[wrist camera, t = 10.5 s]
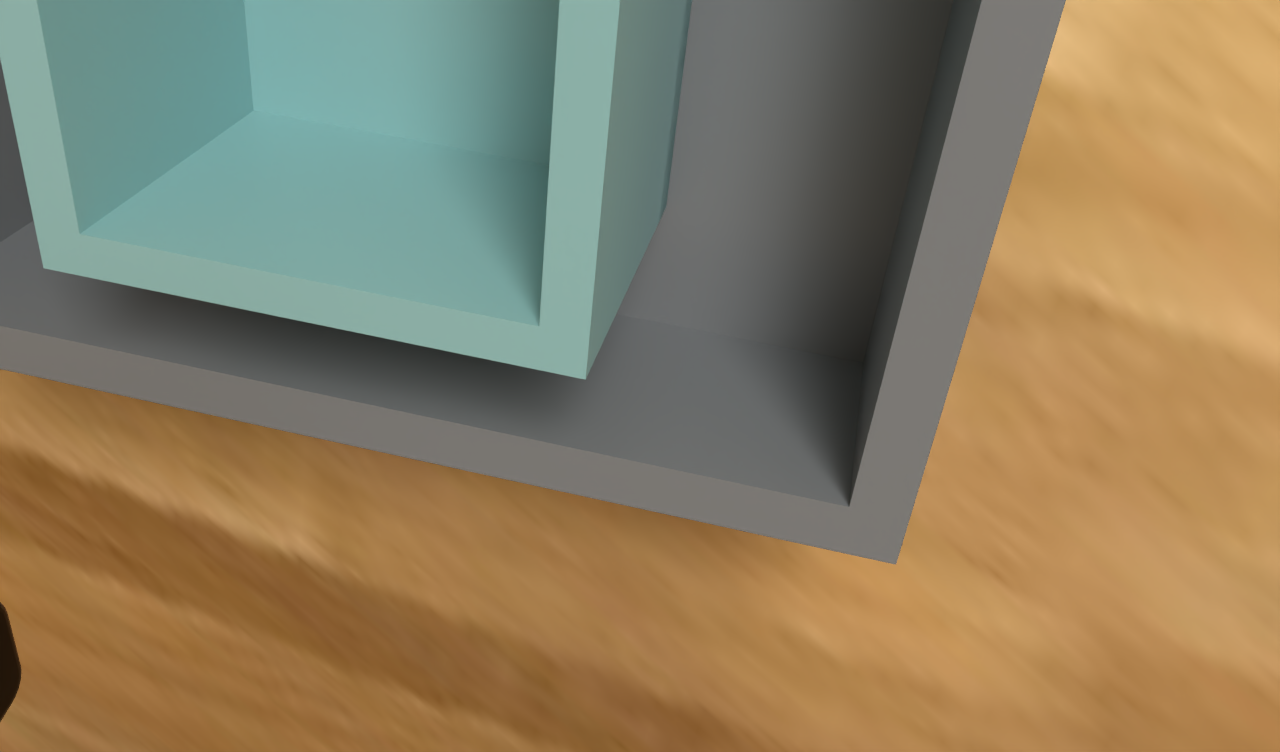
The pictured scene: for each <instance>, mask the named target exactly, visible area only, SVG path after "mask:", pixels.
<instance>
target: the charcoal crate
mask: <svg viewBox="0 0 1280 752" xmlns="http://www.w3.org/2000/svg"><path fill="white" fill-rule="evenodd" d="M1065 1H1066V0H692V5H691V13H690V21H689V29H688V37H687V45H686V53H685V61H684V69H683V77H682V85H681V93H680V101H679V109H678V117H677V125H676V133H675V141H674V149H673V157H672V165H671V173H670V181H669V189H668V197H667V205H666V208H665V210H664V213H663V215H662V217H661V219H660V221H659V223H658V225H657V228H656V230H655V232H654V234H653V236H652V238H651V240H650V243H649V245H648V247H647V249H646V251H645V253H644V255H643V258H642V260H641V262H640V264H639V266H638V268H637V270H636V273H635V275H634V277H633V279H632V281H631V283H630V285H629V288H628V290H627V292H626V294H625V296H624V298H623V300H622V303H621V305H620V307H619V309H618V311H617V313H616V315H615V318H614V320H613V322H612V324H611V326H610V328H609V331H608V333H607V335H606V337H605V339H604V341H603V343H602V346H601V348H600V350H599V352H598V354H597V356H596V358H595V361H594V363H593V365H592V367H591V369H590V371H589V373H588V376H587V378H586V380H585V379H580V378H575V377H570V376H565V375H561V374H556V373H551V372H546V371H541V370H536V369H531V368H526V367H522V366H517V365H512V364H507V363H502V362H497V361H492V360H488V359H483V358H478V357H473V356H468V355H463V354H458V353H454V352H449V351H444V350H439V349H434V348H429V347H424V346H419V345H415V344H410V343H405V342H400V341H395V340H390V339H385V338H381V337H376V336H371V335H366V334H361V333H356V332H351V331H347V330H342V329H337V328H332V327H327V326H322V325H317V324H312V323H308V322H303V321H298V320H293V319H288V318H283V317H278V316H274V315H269V314H264V313H259V312H254V311H249V310H244V309H240V308H235V307H230V306H225V305H220V304H215V303H210V302H206V301H201V300H196V299H191V298H186V297H181V296H176V295H171V294H167V293H162V292H157V291H152V290H147V289H142V288H137V287H133V286H128V285H123V284H118V283H113V282H108V281H103V280H99V279H94V278H89V277H84V276H79V275H74V274H69V273H64V272H60V271H55V270H50V269H45V268H43V263H42V258H41V254H40V249H39V244H38V239H37V234H36V229H35V225H34V220H33V215H32V210H31V205H30V200H29V195H28V191H27V186H26V181H25V176H24V171H23V166H22V162H21V157H20V152H19V147H18V142H17V137H16V132H15V128H14V123H13V118H12V113H11V108H10V103H9V99H8V94H7V89H6V84H5V79H4V74H3V70H2V65H1V60H0V369H3V370H8V371H12V372H17V373H21V374H26V375H30V376H35V377H40V378H44V379H49V380H53V381H58V382H63V383H67V384H72V385H76V386H81V387H85V388H90V389H95V390H99V391H104V392H108V393H113V394H118V395H122V396H127V397H131V398H136V399H140V400H145V401H150V402H154V403H159V404H163V405H168V406H172V407H177V408H182V409H186V410H191V411H195V412H200V413H205V414H209V415H214V416H218V417H223V418H227V419H232V420H237V421H241V422H246V423H250V424H255V425H259V426H264V427H269V428H273V429H278V430H282V431H287V432H292V433H296V434H301V435H305V436H310V437H314V438H319V439H324V440H328V441H333V442H337V443H342V444H347V445H351V446H356V447H360V448H365V449H369V450H374V451H379V452H383V453H388V454H392V455H397V456H401V457H406V458H411V459H415V460H420V461H424V462H429V463H434V464H438V465H443V466H447V467H452V468H456V469H461V470H466V471H470V472H475V473H479V474H484V475H488V476H493V477H498V478H502V479H507V480H511V481H516V482H521V483H525V484H530V485H534V486H539V487H543V488H548V489H553V490H557V491H562V492H566V493H571V494H576V495H580V496H585V497H589V498H594V499H598V500H603V501H608V502H612V503H617V504H621V505H626V506H630V507H635V508H640V509H644V510H649V511H653V512H658V513H663V514H667V515H672V516H676V517H681V518H685V519H690V520H695V521H699V522H704V523H708V524H713V525H717V526H722V527H727V528H731V529H736V530H740V531H745V532H750V533H754V534H759V535H763V536H768V537H772V538H777V539H782V540H786V541H791V542H795V543H800V544H804V545H809V546H814V547H818V548H823V549H827V550H832V551H837V552H841V553H846V554H850V555H855V556H859V557H864V558H869V559H873V560H878V561H882V562H887V563H892V564H896V562H897V559H898V556H899V552H900V549H901V546H902V542H903V539H904V536H905V533H906V529H907V526H908V523H909V519H910V516H911V513H912V509H913V506H914V503H915V499H916V496H917V493H918V489H919V486H920V483H921V479H922V476H923V473H924V469H925V466H926V463H927V459H928V456H929V453H930V449H931V446H932V443H933V440H934V436H935V433H936V430H937V426H938V423H939V420H940V416H941V413H942V410H943V406H944V403H945V400H946V396H947V393H948V390H949V386H950V383H951V380H952V376H953V373H954V370H955V366H956V363H957V360H958V356H959V353H960V350H961V347H962V343H963V340H964V337H965V333H966V330H967V327H968V323H969V320H970V317H971V313H972V310H973V307H974V303H975V300H976V297H977V293H978V290H979V287H980V283H981V280H982V277H983V273H984V270H985V267H986V263H987V260H988V257H989V254H990V250H991V247H992V244H993V240H994V237H995V234H996V230H997V227H998V224H999V220H1000V217H1001V214H1002V210H1003V207H1004V204H1005V200H1006V197H1007V194H1008V190H1009V187H1010V184H1011V180H1012V177H1013V174H1014V170H1015V167H1016V164H1017V160H1018V157H1019V154H1020V151H1021V147H1022V144H1023V141H1024V137H1025V134H1026V131H1027V127H1028V124H1029V121H1030V117H1031V114H1032V111H1033V107H1034V104H1035V101H1036V97H1037V94H1038V91H1039V87H1040V84H1041V81H1042V77H1043V74H1044V71H1045V67H1046V64H1047V61H1048V58H1049V54H1050V51H1051V48H1052V44H1053V41H1054V38H1055V34H1056V31H1057V28H1058V24H1059V21H1060V18H1061V14H1062V11H1063V8H1064V4H1065Z"/></svg>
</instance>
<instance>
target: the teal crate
mask: <svg viewBox="0 0 1280 752" xmlns="http://www.w3.org/2000/svg"><path fill="white" fill-rule="evenodd" d="M691 5H692V0H0V60H1V65H2V70H3V74H4V79H5V84H6V89H7V94H8V99H9V103H10V108H11V113H12V118H13V123H14V128H15V132H16V137H17V142H18V147H19V152H20V157H21V162H22V166H23V171H24V176H25V181H26V186H27V191H28V195H29V200H30V205H31V210H32V215H33V220H34V225H35V229H36V234H37V239H38V244H39V249H40V254H41V258H42V263H43V268H45V269H50V270H55V271H60V272H64V273H69V274H74V275H79V276H84V277H89V278H94V279H99V280H103V281H108V282H113V283H118V284H123V285H128V286H133V287H137V288H142V289H147V290H152V291H157V292H162V293H167V294H171V295H176V296H181V297H186V298H191V299H196V300H201V301H206V302H210V303H215V304H220V305H225V306H230V307H235V308H240V309H244V310H249V311H254V312H259V313H264V314H269V315H274V316H278V317H283V318H288V319H293V320H298V321H303V322H308V323H312V324H317V325H322V326H327V327H332V328H337V329H342V330H347V331H351V332H356V333H361V334H366V335H371V336H376V337H381V338H385V339H390V340H395V341H400V342H405V343H410V344H415V345H419V346H424V347H429V348H434V349H439V350H444V351H449V352H454V353H458V354H463V355H468V356H473V357H478V358H483V359H488V360H492V361H497V362H502V363H507V364H512V365H517V366H522V367H526V368H531V369H536V370H541V371H546V372H551V373H556V374H561V375H565V376H570V377H575V378H580V379H585V380H586V378H587V376H588V373H589V371H590V369H591V367H592V365H593V363H594V361H595V358H596V356H597V354H598V352H599V350H600V348H601V346H602V343H603V341H604V339H605V337H606V335H607V333H608V331H609V328H610V326H611V324H612V322H613V320H614V318H615V315H616V313H617V311H618V309H619V307H620V305H621V303H622V300H623V298H624V296H625V294H626V292H627V290H628V288H629V285H630V283H631V281H632V279H633V277H634V275H635V273H636V270H637V268H638V266H639V264H640V262H641V260H642V258H643V255H644V253H645V251H646V249H647V247H648V245H649V243H650V240H651V238H652V236H653V234H654V232H655V230H656V228H657V225H658V223H659V221H660V219H661V217H662V215H663V213H664V210H665V208H666V205H667V197H668V189H669V181H670V173H671V165H672V157H673V149H674V141H675V133H676V125H677V117H678V109H679V101H680V93H681V85H682V77H683V69H684V61H685V53H686V45H687V37H688V29H689V21H690V13H691Z"/></svg>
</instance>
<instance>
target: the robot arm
mask: <svg viewBox="0 0 1280 752" xmlns="http://www.w3.org/2000/svg"><path fill="white" fill-rule="evenodd" d="M20 680H21V665H20V661H19V657H18V653H17V649H16V645H15V641H14V637H13V633H12V629H11V625H10V621H9V617H8V614H7V611H6V609H5V607H4V605H3V604H2V603H1V602H0V722H1V720H2V718H3V717H4V715H5V713H6V712H7V710H8V709H9V707H10V705H11V704H12V702H13V700H14V698H15V696H16V693H17V691H18V688H19V684H20Z"/></svg>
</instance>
